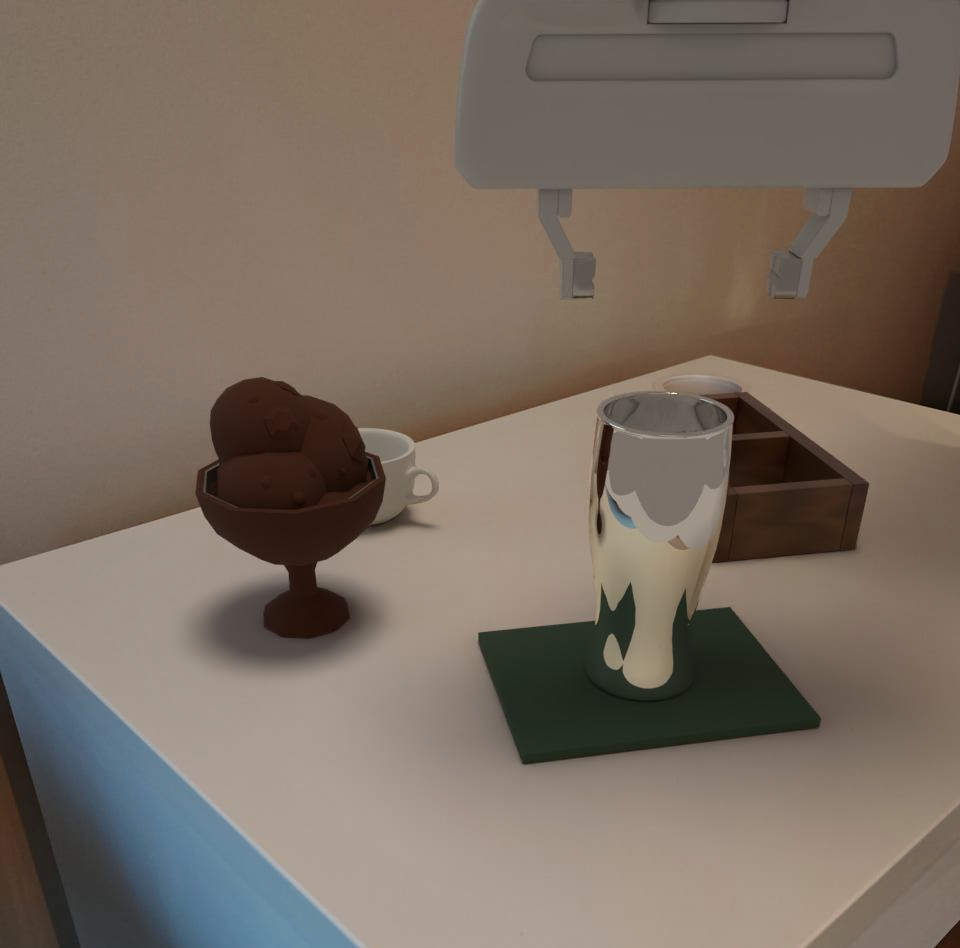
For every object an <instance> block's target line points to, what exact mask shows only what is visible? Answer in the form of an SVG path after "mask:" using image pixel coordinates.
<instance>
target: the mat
mask: <svg viewBox="0 0 960 948" xmlns="http://www.w3.org/2000/svg"><path fill="white" fill-rule="evenodd" d="M594 626H595V620H586V621H577V622H576V621H575V622H567V623H558V624H550V625H549V624H546V625H538V626H529V627H528V626H527V627H518V628H508V629H500V630H499V629H497V630H488V631H480V632H477V633H478V634H477V640H478V644H479V647H480V649H481V652H482V656H483V658H484V660H485V663H486V667H487V669H488V671H489V674H490V677H491V679H492V683H493V685H494V687H495V690H496V693H497V696H498V699H499V702H500V704H501V707H502V710H503V713H504V715H505V718H506V721H507V723H508V726H509V730H510V733H511V735H512V738H513V740H514V743H515V746H516V749H517V751H518V754H519V756H520V757H519V758H520V760H521V762H522V764H533V763H540V762H549V761H557V760H565V759H572V758H581V757H582V758H583V757H589V756H598V755H606V754H614V753H620V752H629V751H636V750H644V749H654V748H662V747H670V746H677V745H679V746H680V745H685V744H694V743H702V742H710V741H711V742H712V741H719V740H726V739H727V740H728V739H734V738H742V737H750V736H758V735H768V734H774V733H784V732H792V731H800V730H808V729H816V728H820V725H821V720H822V717H821V716H820V715H819V714H818V712H817V711H816V710H815V709H814V707H813V706H812V705H811V704H810V702H809V701H808V700H807V698H806V697H805V696H804V695H803V694H802V693H801V692H800V690H799V689H798V687H796V686H795V685H794V683H793V682H792V681H791V679H790V678H789V677H788V676H787V674H786V673H785V672H784V671H783V670H782V668H781V667H780V666H779V665H778V663H776V661H775V660H774V658H773V657H772V656H771V655H770V654H769V652H768V651H767V650H766V649H765V647H764V646H763V645H762V643H760V641H759V640H758V639H757V637H756V636H754V634H753V632H752V631H751V630H750V629H749V628H748V627H747V626H746V624H745V623H744V622H743V620H742V619H741V618H740V616H738V614H737V613H736V612H735V611H734V610H733V609H732V607H731V606H725V607H716V608H705V609H696V613H695V618H694V623H693V650H694V662H695V676H694V680H693V682H692V684H691V686H690V687H689V688H688V689H687V690H685V691H684V692H682V693H681V694H679V695H677V696H674V697H672V698H668V699H664V700H658V701H636V700H629V699H624V698H620V697H617V696H614V695H612V694H609V693H607V692H605V691H603V690H602V689H600V688H599V687H598V686H596V685H595V684H594V683H593V682H592V681H591V680H590V678H589V677H588V675H587V672H586V668H585V663H586V657H587V653H588V649H589V645H590V642H591V638H592V635H593V631H594Z"/></svg>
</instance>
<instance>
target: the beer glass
mask: <svg viewBox="0 0 960 948" xmlns="http://www.w3.org/2000/svg"><path fill="white" fill-rule="evenodd" d="M699 395H700V394H694V393H689V392H681V391H673V390H672V391H671V390H640V391H632V392H624V393H621V394H615V395H613V396H610V397H609V398H606V399H604V400H603V401H601V402H600V403H599V404H598V406H597V408H596V421H595V428H594V434H593V440H592V448H591V455H590V461H589V472H588V482H587V505H586V507H587V508H586V510H587V511H586V515H587V529H588V530H587V531H588V541H589V550H590V558H591V566H592V573H593V580H594V590H595V620H594V621H595V626H594V631H593V635H592V638H591V642H590V645H589V649H588V653H587V657H586V663H585V668H586V672H587V675H588V677H589V678H590V680H591V681H592V682H593V683H594V684H595V685H596V686H598V687H599V688H600V689H602V690H603V691H605V692H607V693H609V694H612V695H614V696H617V697H620V698H624V699H629V700H636V701H658V700H664V699H668V698H672V697H674V696H677V695H679V694H681V693H682V692H684V691H685V690H687V689H688V688H689V687H690V686H691V684H692V682H693V680H694V676H695V662H694V650H693V623H694V618H695V613H696V610H697V608H698V604H699V602H700V598H701V596H702V592H703V590H704V587H705V584H706V581H707V578H708V575H709V573H710V569H711V566H712V563H713V562H712V560H713V557H714V554H715V551H716V548H717V545H718V541H719V538H720V534H721V530H722V527H723V523H724V517H725V511H726V505H727V500H728V491H729V482H730V471H731V454H732V431H733V421H734V414H733V412H732V411H731V410H730V409H729V408H728V407H727V406H725V405H724V404H722V403H720V402H718V401H715V400H713V399H710V398H707V397H703V396H699Z"/></svg>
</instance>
